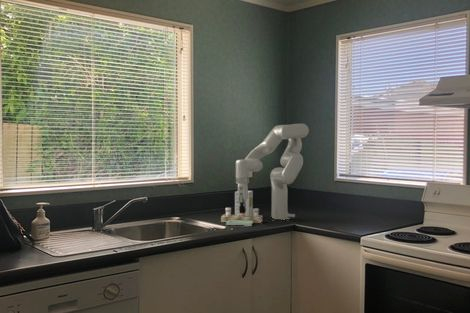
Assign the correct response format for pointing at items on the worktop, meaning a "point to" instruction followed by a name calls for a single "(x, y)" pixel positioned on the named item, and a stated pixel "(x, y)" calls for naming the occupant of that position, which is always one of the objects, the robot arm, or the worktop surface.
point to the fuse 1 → (228, 211)
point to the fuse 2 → (255, 212)
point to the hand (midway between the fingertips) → (242, 212)
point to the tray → (239, 222)
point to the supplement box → (248, 204)
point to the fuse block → (242, 218)
